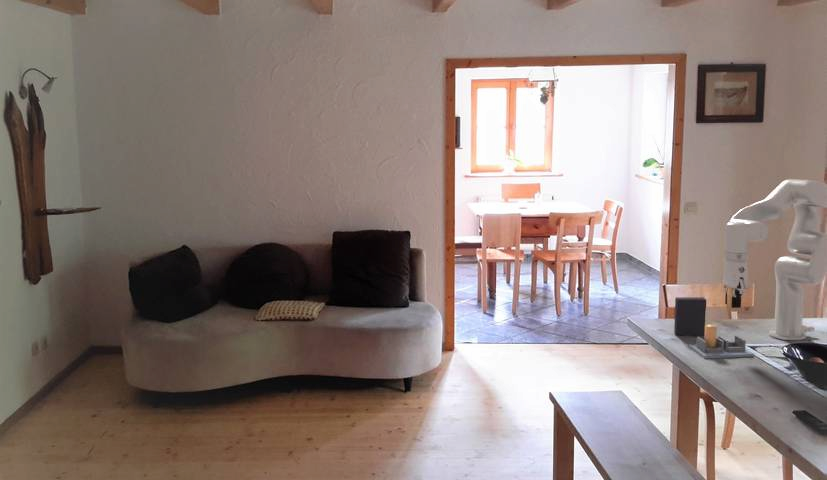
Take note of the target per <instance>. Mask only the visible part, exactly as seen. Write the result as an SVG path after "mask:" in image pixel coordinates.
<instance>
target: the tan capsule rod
mask: <svg viewBox="0 0 827 480" xmlns="http://www.w3.org/2000/svg"><path fill="white" fill-rule="evenodd" d="M737 288H739V287H737ZM737 291H739V290H736V292H737ZM732 297H733V288H731V287H729V286H728V291H727V305H726V311H728V312H732V313H733V312H739V310H740V309H739V308H732Z"/></svg>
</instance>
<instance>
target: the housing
mask: <svg viewBox="0 0 827 480" xmlns="http://www.w3.org/2000/svg"><path fill="white" fill-rule="evenodd" d="M717 328H718V326H717V325H715V324H711V323H710V324H705V335H704V336H703V337H704V339H703V338H701V337H700V336H696V344H688V348H689V349H690V350H692V351H693V352H695V353H696V354H697V355H699V356H700V357H702V359H703V358H704V359H722V358H723V359H724V358H726V359H727V358H746V357H755V356H754V355H755V353H753V352H751V350H749V349H746V339H744V338H743V337H741V336H739V335H737V334H736V335H734V341H729V340H728V339H726V338H724V337H722V336H721V335H717V330H718V329H717Z"/></svg>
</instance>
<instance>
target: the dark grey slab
mask: <svg viewBox="0 0 827 480" xmlns="http://www.w3.org/2000/svg"><path fill="white" fill-rule="evenodd" d="M674 301H675V302H674V304H675V305H674V326H673V327H674V330H673V333H674V335H675V336H677V337H678V336H679V337H683V336H684V337H687V336H691V337H700V336H701V337H702V336H703V337H705V325H706V310H707V299H706V298H705V297H700V296H699V297H697V296H696V297H695V296H694V297H693V296H692V297H689V296H687V297H683V296H682V297H681V296H679V297H677V296H676V297H675V299H674Z"/></svg>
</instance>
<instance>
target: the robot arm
mask: <svg viewBox="0 0 827 480" xmlns="http://www.w3.org/2000/svg"><path fill="white" fill-rule="evenodd" d="M792 207H794V208H793V209H794V211H795V220H794V223H793V225H792V228H791V230H790V231H791V232H790V234H789V236H788V240H787V246H786V247H787V250H788V251H789V252H790V253H792V254H795V255H800V256H805V258H804V257H799V256H794V255H793V256H792V255H785V256H781V257H779V258H778V259H776V260H775V263H774V275H775V282H776V285H775V286H776V290H775V291H776V292H775V306H774V307H775V310H774V327H773V329H770V330H769V335H770V337H773V338H776V339H778V340H783V341H793V342H795V341H802V340H805V339H806V338H807V335H806V333H807V332H811V333H812V332H815V327H814V326H808V325H803V317H804V316H803V315H804V300H805V291H804V287H803V286H802V284H805V285H810V286H817V285H820V284H822V282H823V281H824V279H825V277H826V275H827V233H826V232H819V228H820V224H821V218H820V215H819V213H818V211H817V209H816V208H822V209H823V208H826V209H827V183H824V182H820V181H816V180H810V179H796V178H795V179H792V178H791V179H790V178H789V179H785V180H784V181H782V182H781V183H780V184H779V185H778V186H777V187H776V188H775V189H773V190H772V191H771V192H770V194H768V195H767V196H766V197H765V199H763V200H760V201H758V202H755V203H753V204H750V205H747V206H746V207H743V208H742V209H740V210H738V212H736V213H735V214H734V215H733V216H732V217H731V219H730V220H728V222H727V223H726V224H725V228H724V246H723V247H724V250H723V251H724V252H723V261H724V262H723V266H722V267H723V269H722V283H723V284H722V285H723V286H724V290H725V291H724V293H725V296H724V297H725V299H724V303H725V305H726V306H727V291H728V286H729V287H731V288H733V297H732V308H740V309H741V308H742V298H743V294H744V293H745V292H746V289H747V288H748V285H749V271H748V262H747V261H748V244H749V243H748V242H753V243H754V242H755V243H758V242H762V241H764V240H766V238H767V237H768V236H769V233H770V231H769V230H770V229H769V227H768V225H767V224H766V223H765V222H763V221H771V220H774V219H778V218H779V219H780V218H781V217H783V215H784V214H786V213H787V212H788V210H789V209H791V208H792ZM806 257H811V258H806ZM737 287H739V288H737ZM736 290H739V291H737V292H736Z"/></svg>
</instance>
